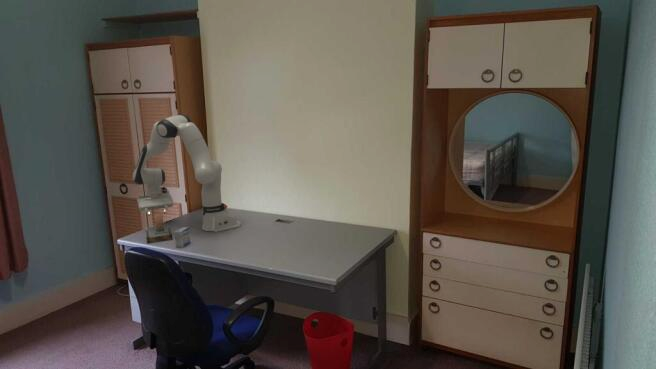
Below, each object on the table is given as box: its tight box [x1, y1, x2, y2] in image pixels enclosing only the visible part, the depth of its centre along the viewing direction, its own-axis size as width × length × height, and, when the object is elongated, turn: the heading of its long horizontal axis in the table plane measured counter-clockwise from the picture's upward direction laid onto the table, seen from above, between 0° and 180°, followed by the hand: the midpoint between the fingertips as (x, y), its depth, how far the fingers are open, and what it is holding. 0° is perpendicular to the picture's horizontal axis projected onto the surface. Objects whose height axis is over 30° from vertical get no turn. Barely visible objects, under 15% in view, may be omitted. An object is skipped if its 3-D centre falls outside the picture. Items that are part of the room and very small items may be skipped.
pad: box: [153, 226, 168, 236], centre depth 272 cm, size 7×10×1 cm
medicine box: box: [173, 226, 191, 248], centre depth 247 cm, size 8×4×9 cm, turn 168°
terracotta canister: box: [153, 212, 165, 232], centre depth 271 cm, size 4×4×10 cm
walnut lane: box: [145, 227, 173, 244], centre depth 260 cm, size 13×14×3 cm
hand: (157, 214), depth 281 cm, fingers open, 8 cm apart
